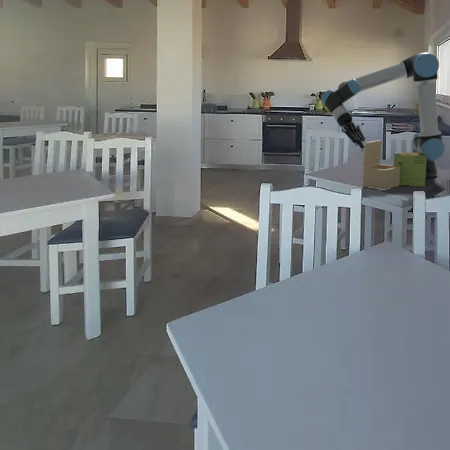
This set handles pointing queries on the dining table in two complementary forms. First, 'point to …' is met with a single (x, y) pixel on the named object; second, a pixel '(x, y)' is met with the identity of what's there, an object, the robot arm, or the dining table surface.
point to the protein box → (411, 168)
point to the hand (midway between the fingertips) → (368, 152)
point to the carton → (381, 176)
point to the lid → (372, 153)
